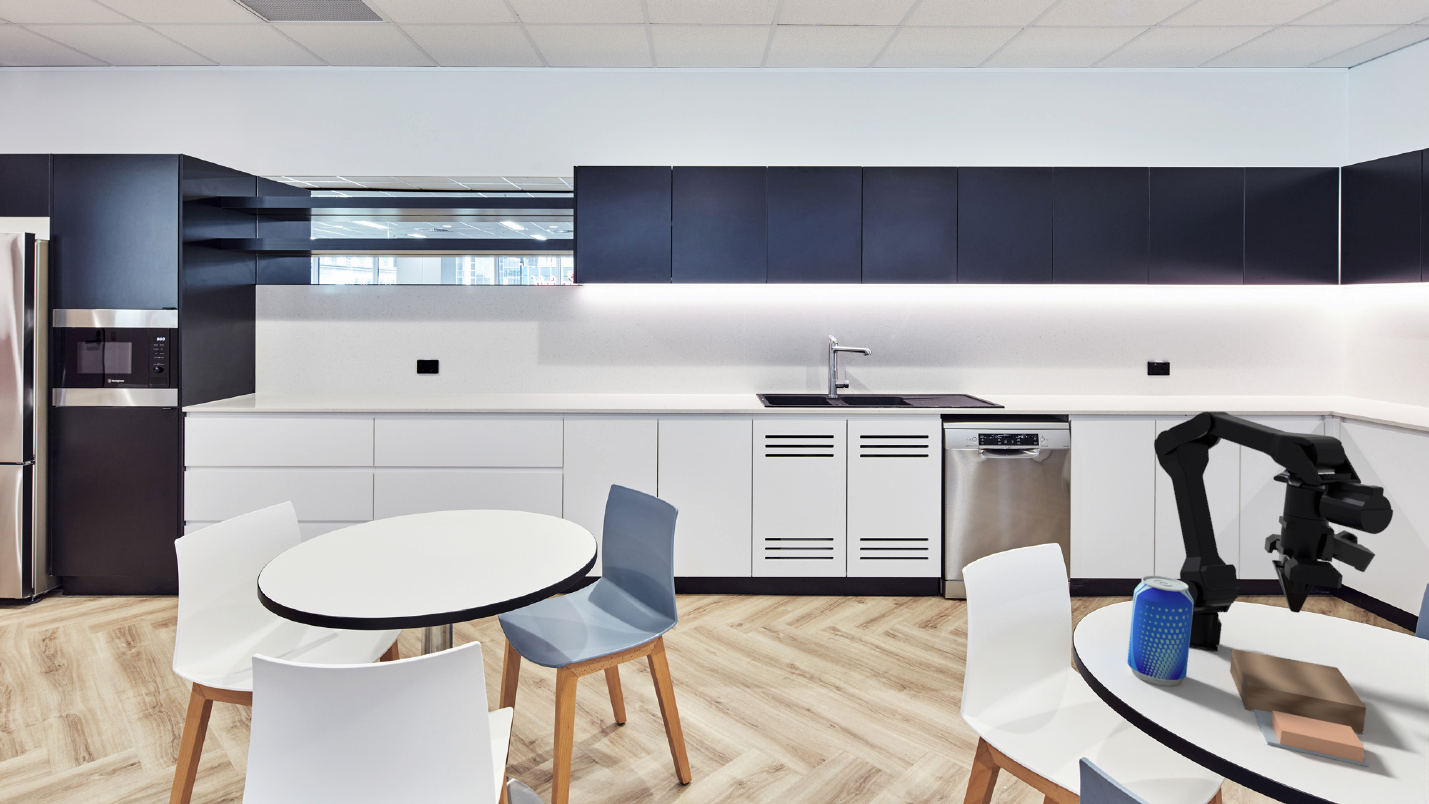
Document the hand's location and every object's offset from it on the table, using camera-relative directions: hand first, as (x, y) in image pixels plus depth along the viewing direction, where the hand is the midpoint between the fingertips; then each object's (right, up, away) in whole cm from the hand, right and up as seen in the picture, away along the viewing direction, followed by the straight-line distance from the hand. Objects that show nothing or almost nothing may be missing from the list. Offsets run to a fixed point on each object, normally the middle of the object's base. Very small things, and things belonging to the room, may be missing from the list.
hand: (1294, 611), depth 120 cm
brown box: (-2, -13, -2) cm, 14 cm away
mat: (-8, -14, -13) cm, 21 cm away
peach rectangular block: (-8, -12, -15) cm, 21 cm away
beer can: (-19, -12, +5) cm, 23 cm away
